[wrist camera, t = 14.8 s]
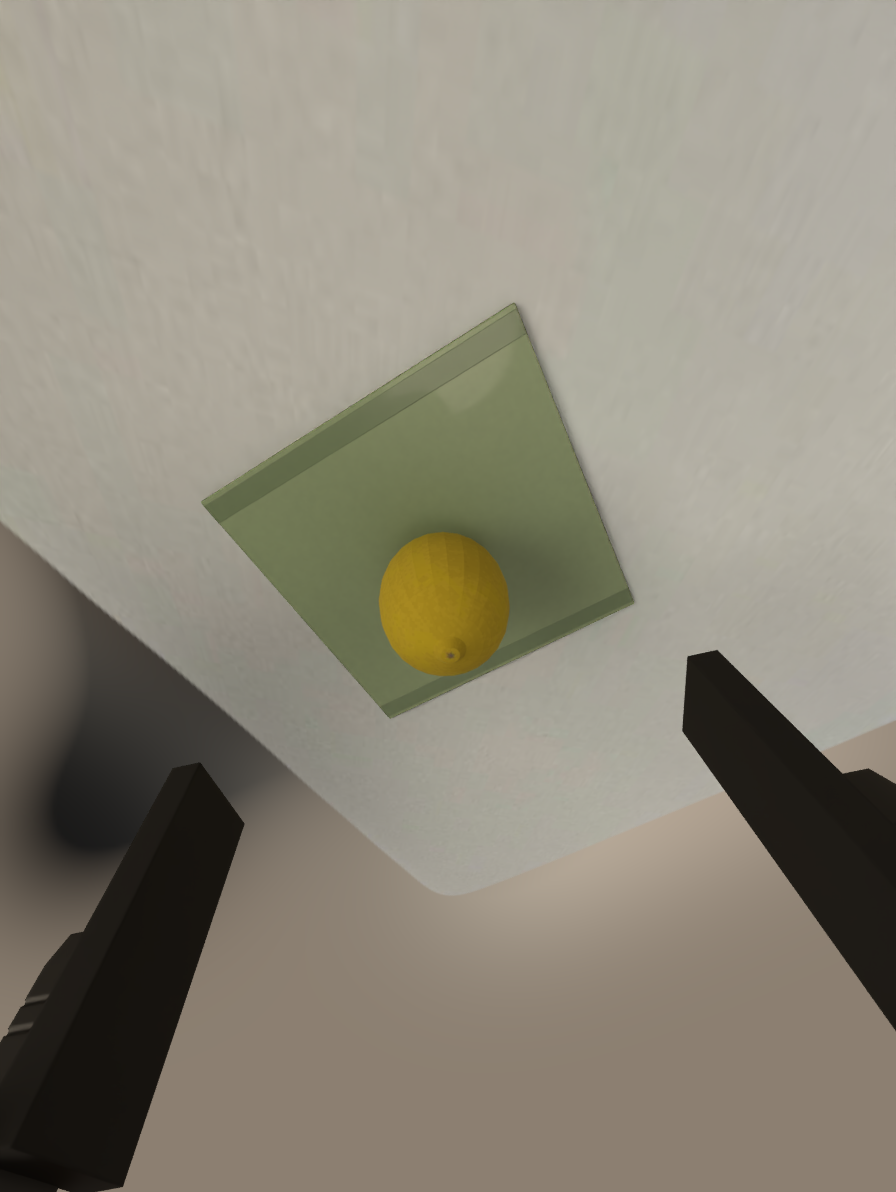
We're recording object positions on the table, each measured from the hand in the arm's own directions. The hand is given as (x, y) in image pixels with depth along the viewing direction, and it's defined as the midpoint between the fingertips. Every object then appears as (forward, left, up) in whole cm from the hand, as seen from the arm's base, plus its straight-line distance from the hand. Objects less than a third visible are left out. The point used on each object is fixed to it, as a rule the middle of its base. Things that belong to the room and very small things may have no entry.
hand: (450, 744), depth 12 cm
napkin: (0, 0, -12) cm, 12 cm away
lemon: (0, 0, -12) cm, 12 cm away
